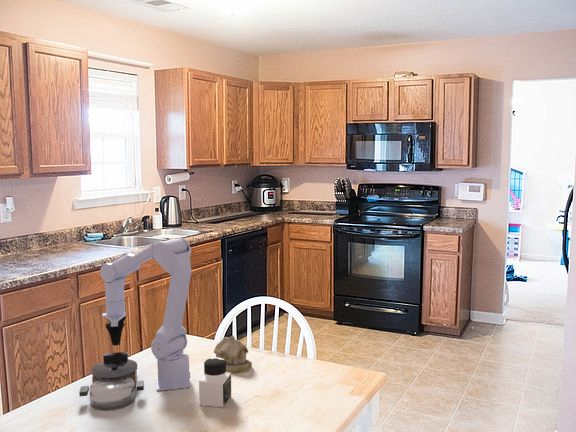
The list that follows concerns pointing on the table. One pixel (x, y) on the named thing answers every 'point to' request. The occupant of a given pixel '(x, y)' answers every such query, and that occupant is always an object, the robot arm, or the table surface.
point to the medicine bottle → (215, 383)
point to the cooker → (112, 392)
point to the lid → (114, 366)
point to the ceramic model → (233, 355)
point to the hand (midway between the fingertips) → (116, 341)
